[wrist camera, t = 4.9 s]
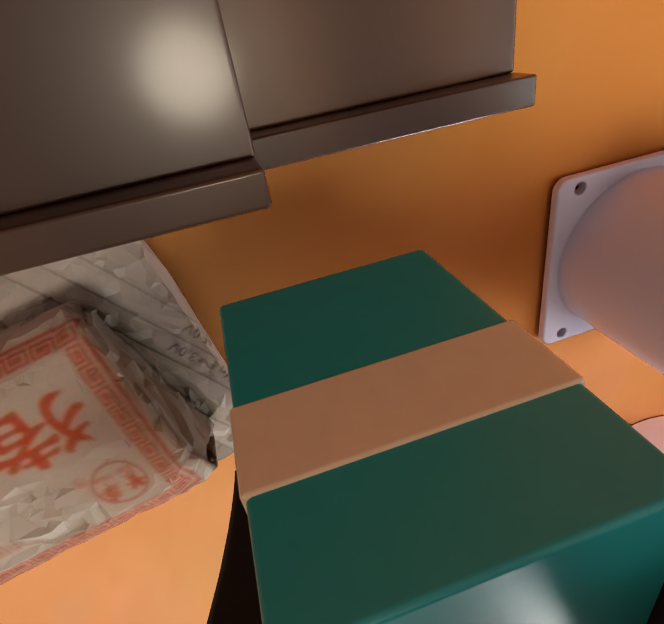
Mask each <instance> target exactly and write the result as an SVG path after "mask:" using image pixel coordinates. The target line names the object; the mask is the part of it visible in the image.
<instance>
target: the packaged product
mask: <svg viewBox="0 0 664 624" xmlns="http://www.w3.org/2000/svg"><path fill="white" fill-rule="evenodd" d="M232 408H233V405H232V397H231V390H230V383H229V375H228V368H227V364H226V362H225V361H224V359H223V358H222V357H221V355H220V353H219V352H218V350H217V349H216V347H215V345H214V344H213V342H212V341H211V339H210V337H209V336H208V334H207V333H206V331H205V329H204V328H203V326H202V325H201V323H200V321H199V320H198V318H197V317H196V315H195V313H194V312H193V310H192V309H191V307H190V305H189V304H188V302H187V301H186V299H185V297H184V296H183V294H182V293H181V291H180V289H179V288H178V286H177V285H176V283H175V281H174V280H173V278H172V277H171V275H170V273H169V272H168V270H167V269H166V268H165V267H164V265H163V264H162V263H161V261H160V260H159V259H158V257H157V256H156V255H155V254H154V252H153V251H152V250H151V248H150V247H149V246H148V244H147V243H146V242H145V241H144V240H140V241H136V242H132V243H128V244H124V245H120V246H116V247H113V248H109V249H105V250H101V251H97V252H93V253H89V254H85V255H81V256H77V257H73V258H69V259H65V260H61V261H57V262H53V263H49V264H45V265H41V266H37V267H33V268H29V269H25V270H21V271H18V272H14V273H10V274H6V275H2V276H0V585H2V584H4V583H6V582H7V581H9V580H11V579H12V578H14V577H16V576H18V575H19V574H22V573H24V572H26V571H28V570H30V569H33V568H34V567H36V566H38V565H40V564H42V563H44V562H46V561H48V560H50V559H52V558H53V557H55V556H57V555H58V554H60V553H61V552H63V551H65V550H67V549H69V548H71V547H74V546H76V545H79V544H81V543H84V542H86V541H88V540H90V539H91V538H93V537H95V536H97V535H99V534H101V533H103V532H105V531H107V530H109V529H111V528H113V527H115V526H117V525H119V524H121V523H123V522H125V521H127V520H128V519H130V518H131V517H133V516H134V515H136V514H138V513H140V512H143V511H146V510H149V509H151V508H154V507H156V506H158V505H160V504H163V503H165V502H167V501H169V500H170V499H172V498H173V497H175V496H177V495H179V494H182V493H185V492H187V491H189V490H190V489H191V488H192V487H193V486H195V485H197V484H199V483H201V482H204V481H206V480H207V478H208V477H209V476H210V474H211V473H212V472H213V471H214V470H215V469H216V468H217V466H218V460H221V459H223V458H226V457H227V456H229V455H230V454H232V453H233V452H234V447H233V439H232V431H231V423H230V415H229V414H230V410H231V409H232Z"/></svg>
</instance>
